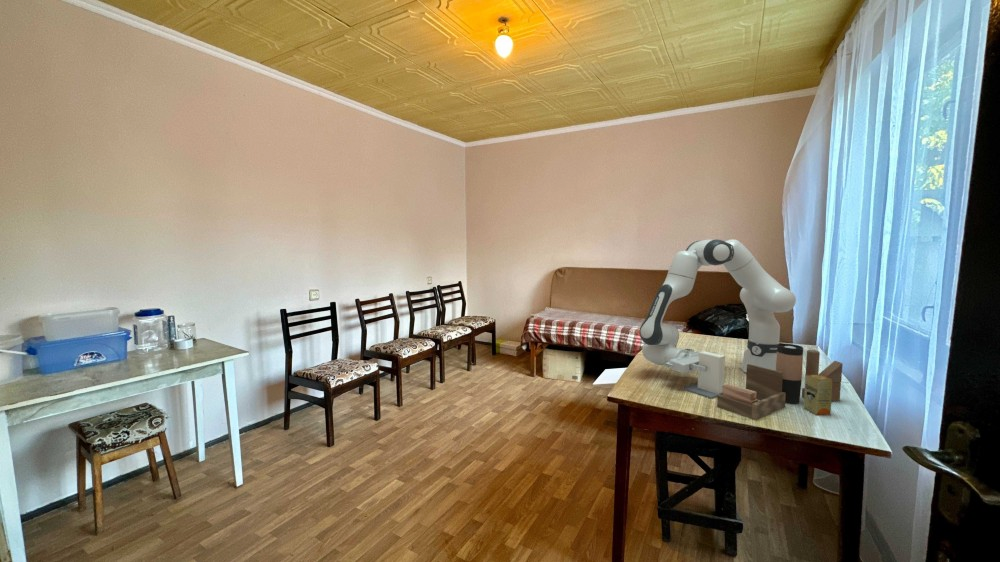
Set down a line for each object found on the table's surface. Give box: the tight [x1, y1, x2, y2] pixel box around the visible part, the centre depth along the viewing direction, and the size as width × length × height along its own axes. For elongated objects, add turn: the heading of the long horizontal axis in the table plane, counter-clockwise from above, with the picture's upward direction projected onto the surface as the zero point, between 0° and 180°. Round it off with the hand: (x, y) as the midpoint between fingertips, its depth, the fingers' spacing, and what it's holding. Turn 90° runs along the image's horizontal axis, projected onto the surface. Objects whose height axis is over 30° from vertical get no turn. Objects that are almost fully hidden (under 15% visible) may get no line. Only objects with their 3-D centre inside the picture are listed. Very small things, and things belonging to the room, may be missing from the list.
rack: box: [716, 364, 786, 421], centre depth 135 cm, size 20×12×12 cm, turn 121°
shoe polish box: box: [803, 375, 833, 416], centre depth 130 cm, size 5×5×12 cm
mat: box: [681, 381, 723, 399], centre depth 151 cm, size 14×12×1 cm
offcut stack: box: [722, 383, 759, 405], centre depth 132 cm, size 4×10×8 cm, turn 31°
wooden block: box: [801, 349, 843, 402], centre depth 141 cm, size 4×11×18 cm, turn 85°
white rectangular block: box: [697, 350, 726, 394], centre depth 149 cm, size 4×8×14 cm, turn 31°
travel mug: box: [776, 343, 804, 405], centre depth 140 cm, size 8×8×20 cm
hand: (711, 368), depth 149 cm, fingers open, 5 cm apart
